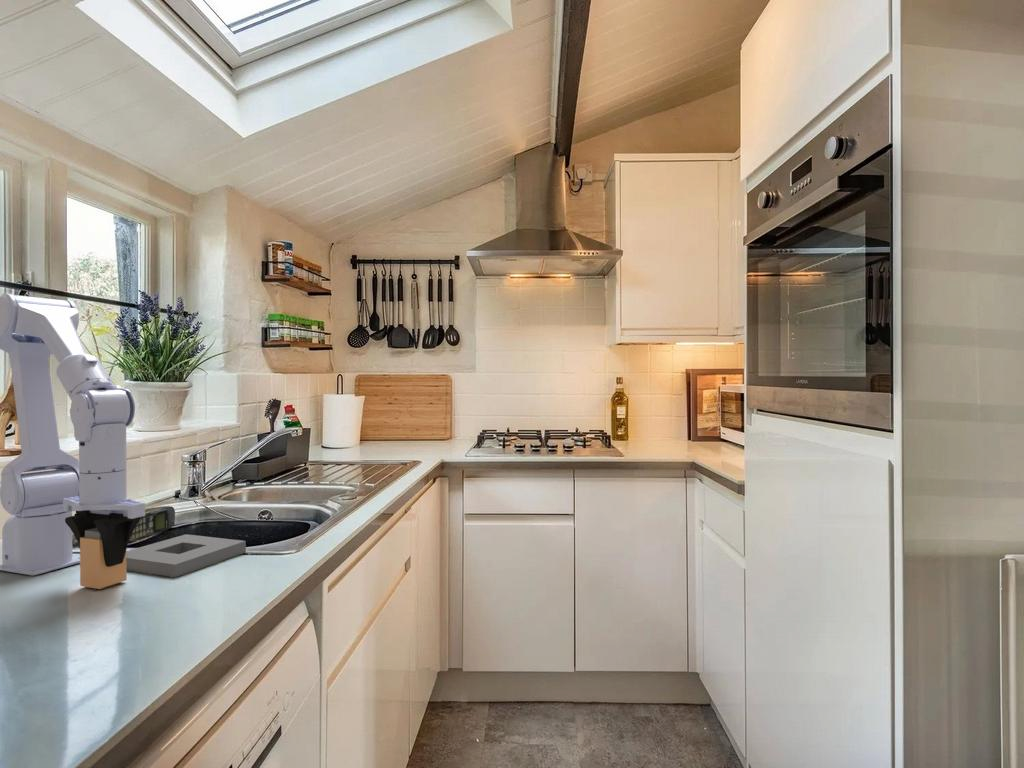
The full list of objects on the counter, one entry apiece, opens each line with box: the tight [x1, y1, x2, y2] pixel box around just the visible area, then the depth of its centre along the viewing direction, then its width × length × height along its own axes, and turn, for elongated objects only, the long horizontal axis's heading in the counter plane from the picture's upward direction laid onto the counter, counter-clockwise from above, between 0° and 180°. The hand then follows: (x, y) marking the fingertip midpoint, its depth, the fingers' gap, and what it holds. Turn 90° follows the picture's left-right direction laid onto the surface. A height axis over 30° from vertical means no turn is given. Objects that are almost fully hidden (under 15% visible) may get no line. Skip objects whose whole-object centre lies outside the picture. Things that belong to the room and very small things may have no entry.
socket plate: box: [126, 534, 247, 578], centre depth 98 cm, size 14×14×2 cm
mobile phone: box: [128, 505, 176, 544], centre depth 114 cm, size 5×3×15 cm
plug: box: [79, 528, 128, 590], centre depth 85 cm, size 4×4×8 cm
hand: (103, 563), depth 85 cm, fingers closed on plug, 4 cm apart
